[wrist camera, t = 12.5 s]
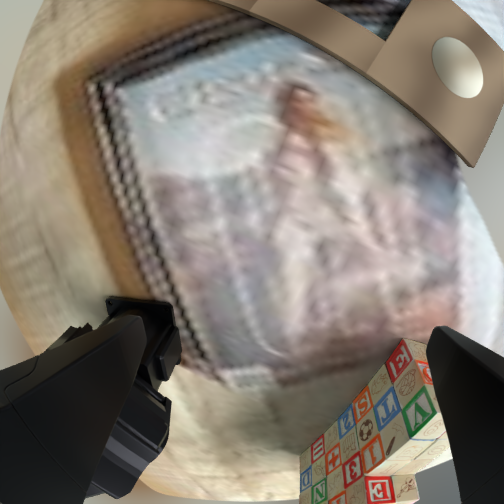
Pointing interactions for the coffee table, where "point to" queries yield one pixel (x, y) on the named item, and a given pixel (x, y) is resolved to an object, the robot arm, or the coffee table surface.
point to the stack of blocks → (379, 438)
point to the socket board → (410, 62)
